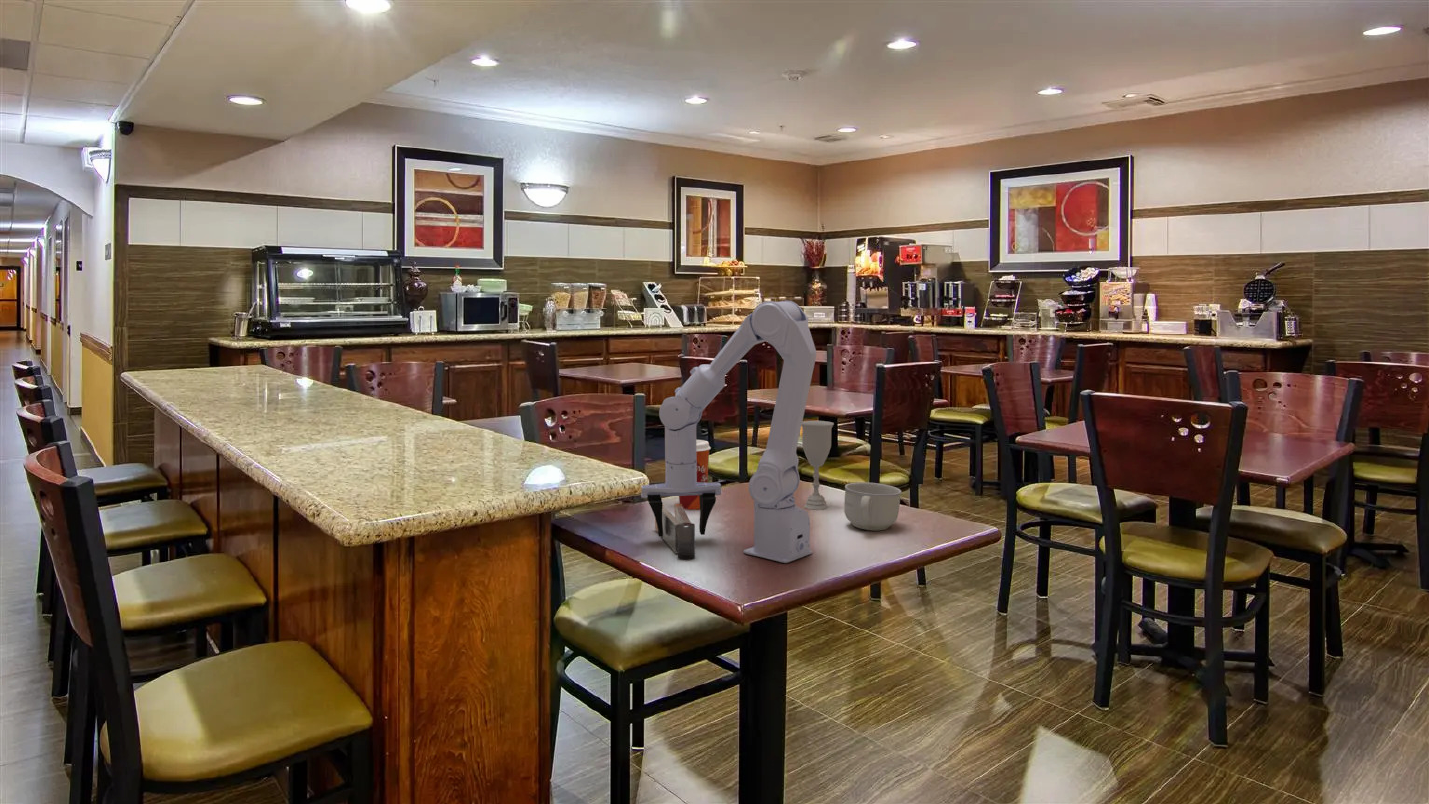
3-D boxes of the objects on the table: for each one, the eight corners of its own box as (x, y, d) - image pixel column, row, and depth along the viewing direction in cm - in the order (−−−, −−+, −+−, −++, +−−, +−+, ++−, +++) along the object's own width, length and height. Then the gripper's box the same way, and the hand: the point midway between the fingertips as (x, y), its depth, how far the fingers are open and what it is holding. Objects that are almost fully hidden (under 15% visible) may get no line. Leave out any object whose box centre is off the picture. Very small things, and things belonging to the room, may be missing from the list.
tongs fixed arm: (696, 559, 156) (695, 526, 155) (678, 560, 156) (678, 527, 155) (681, 528, 176) (681, 499, 175) (666, 529, 176) (666, 500, 175)
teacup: (856, 517, 185) (857, 478, 184) (908, 524, 179) (909, 484, 178) (828, 533, 173) (829, 492, 172) (882, 541, 167) (883, 498, 166)
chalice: (792, 506, 194) (793, 422, 192) (813, 501, 199) (814, 419, 196) (818, 512, 189) (819, 426, 186) (839, 507, 193) (840, 423, 191)
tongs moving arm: (682, 552, 159) (681, 524, 159) (675, 553, 159) (675, 525, 158) (661, 528, 175) (660, 503, 175) (655, 528, 175) (654, 503, 174)
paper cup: (706, 511, 189) (706, 445, 188) (670, 510, 191) (670, 444, 189) (714, 503, 197) (714, 439, 195) (679, 501, 198) (679, 438, 197)
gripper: (716, 456, 170) (716, 526, 172) (639, 458, 168) (640, 530, 170) (722, 463, 163) (723, 536, 165) (642, 466, 161) (643, 540, 163)
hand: (681, 534), depth 167 cm, fingers open, 7 cm apart
